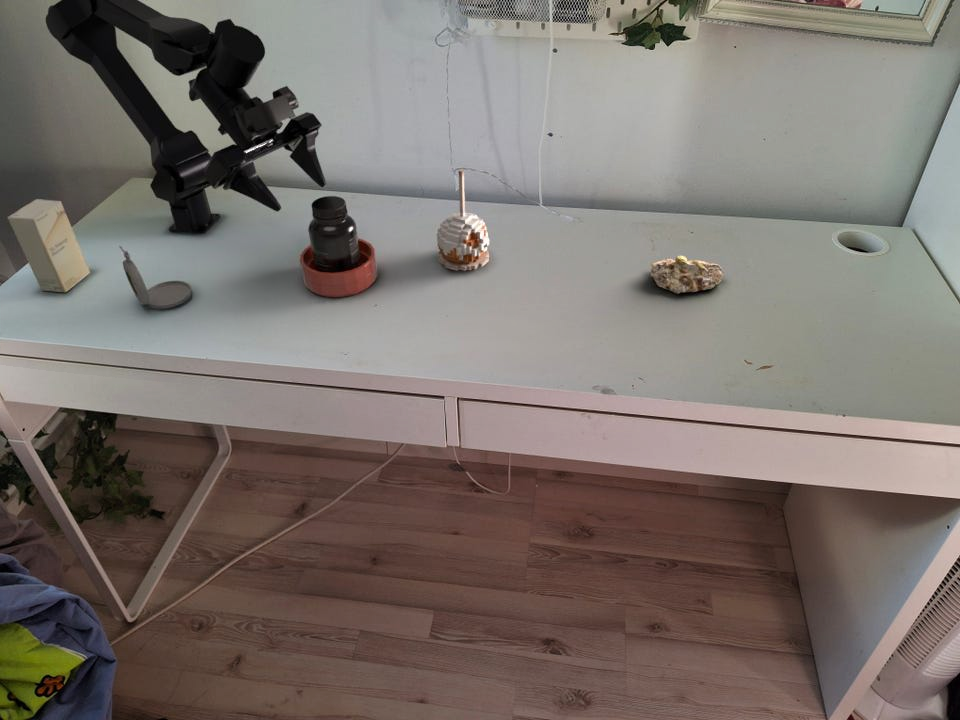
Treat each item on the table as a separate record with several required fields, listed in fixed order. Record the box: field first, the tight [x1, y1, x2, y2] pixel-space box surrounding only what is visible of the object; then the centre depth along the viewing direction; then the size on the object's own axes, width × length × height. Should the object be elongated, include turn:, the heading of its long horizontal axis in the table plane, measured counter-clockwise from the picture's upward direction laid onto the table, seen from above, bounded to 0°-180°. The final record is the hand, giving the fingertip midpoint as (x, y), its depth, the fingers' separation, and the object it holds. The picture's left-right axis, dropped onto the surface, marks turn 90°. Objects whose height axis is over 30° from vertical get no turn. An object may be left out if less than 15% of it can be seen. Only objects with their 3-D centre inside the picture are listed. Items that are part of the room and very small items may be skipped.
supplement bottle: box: [307, 195, 361, 273], centre depth 105 cm, size 7×7×12 cm
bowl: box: [299, 237, 378, 298], centre depth 107 cm, size 11×11×4 cm
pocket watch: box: [118, 245, 193, 310], centre depth 102 cm, size 8×8×10 cm
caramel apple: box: [436, 169, 490, 272], centre depth 108 cm, size 8×8×15 cm
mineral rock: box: [650, 254, 725, 295], centre depth 106 cm, size 11×4×8 cm
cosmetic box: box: [7, 198, 91, 293], centre depth 105 cm, size 6×4×12 cm
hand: (302, 197), depth 103 cm, fingers open, 9 cm apart
